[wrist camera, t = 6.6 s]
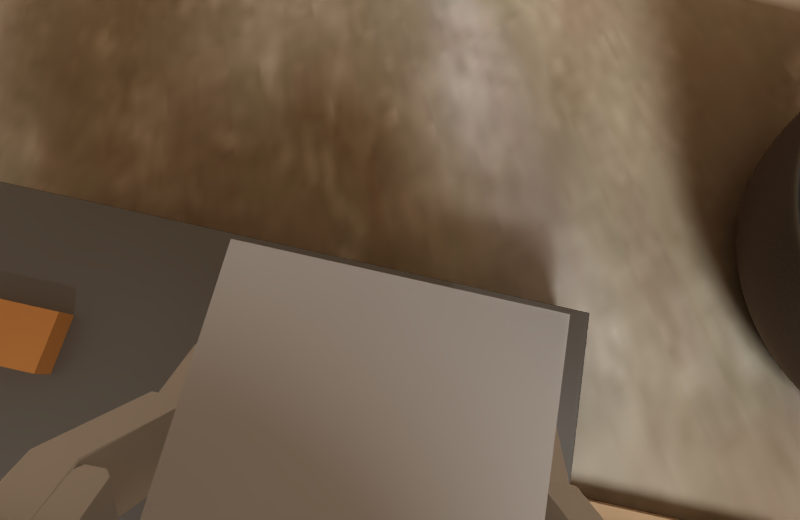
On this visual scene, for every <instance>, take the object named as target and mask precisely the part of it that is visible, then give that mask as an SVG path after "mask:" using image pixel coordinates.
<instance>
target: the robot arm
mask: <svg viewBox="0 0 800 520" xmlns="http://www.w3.org/2000/svg"><path fill="white" fill-rule="evenodd" d="M196 345H197V344H195V345H194V346H193V348H192V349H191V350H190V351H189V353H188V354H187V355H186V357H185V358H184V359H183V361H182V362H181V363H180V365H179V366H178V367H177V369H176V370H175V371H174V373H173V374H172V375H171V377H170V378H169V379H168V381H167V382H166V383H165V384H164V386H163V387H162V388H161V390H160V391H159V392H153V391H151V392H149V393H147V394H145V395H143V396H141V397H139V398H136V399H134V400H132V401H130V402H128V403H126V404H124V405H122V406H120V407H118V408H116V409H113V410H111V411H109V412H107V413H105V414H103V415H101V416H99V417H97V418H95V419H92V420H90V421H88V422H86V423H84V424H82V425H80V426H78V427H76V428H74V429H72V430H69V431H67V432H65V433H63V434H61V435H59V436H57V437H55V438H53V439H51V440H48V441H46V442H44V443H42V444H40V445H38V446H36V447H34V448H32V449H30V450H29V451H28V452H27V453H26V454H25V455H24V456H23V457H22V458H21V459H20V460H19V462H18V463H17V464H16V465H15V466H14V467H13V468H12V469H11V470H10V471H9V472H8V473H7V474H6V475H5V476H4V477H3V478H2V479H1V481H0V520H118V518H119V517H120V516H122V515H123V514H124V513H126V512H127V511H128V510H130V509H131V508H132V507H134V506H135V505H136V504H138V503H139V502H140V501H142V500H143V499H144V498H146V497H147V496H148V493H149V490H150V487H151V484H152V481H153V478H154V475H155V472H156V469H157V465H158V462H159V459H160V456H161V453H162V450H163V447H164V444H165V441H166V438H167V435H168V431H169V428H170V425H171V422H172V419H173V416H174V413H175V410H176V407H177V404H178V401H179V398H180V394H181V391H182V388H183V385H184V382H185V379H186V376H187V373H188V370H189V367H190V364H191V360H192V357H193V354H194V351H195V348H196ZM545 520H604V519H603V518H602V517H601V515H600V514H599V513H598V512H597V511H596V509H595V508H594V507H593V506H592V504H591V503H590V502H589V501H588V500H587V498H586V497H585V496H584V495H583V494H582V492H581V491H580V490H579V489H578V487H577V486H574V485H570V484H569V480H568V475H567V471H566V466H565V462H564V458H563V453H562V449H561V444H560V440H559V435H558V431H557V426H556V432H555V441H554V449H553V457H552V465H551V473H550V481H549V489H548V497H547V505H546V513H545Z"/></svg>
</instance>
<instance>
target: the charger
mask: <svg viewBox="0 0 800 520" xmlns="http://www.w3.org/2000/svg"><path fill="white" fill-rule="evenodd" d="M569 319H570V314H566V313H561V312H557V311H552V310H548V309H543V308H539V307H534V306H530V305H525V304H521V303H516V302H512V301H507V300H503V299H499V298H494V297H490V296H485V295H481V294H476V293H472V292H467V291H463V290H458V289H454V288H449V287H445V286H440V285H436V284H431V283H427V282H422V281H418V280H413V279H409V278H404V277H400V276H396V275H391V274H387V273H382V272H378V271H373V270H369V269H364V268H360V267H355V266H351V265H346V264H342V263H337V262H333V261H328V260H324V259H319V258H315V257H310V256H306V255H302V254H297V253H293V252H288V251H284V250H279V249H275V248H270V247H266V246H261V245H257V244H252V243H248V242H243V241H239V240H234V239H231V240H230V243H229V246H228V249H227V252H226V255H225V258H224V262H223V265H222V268H221V271H220V274H219V277H218V280H217V283H216V286H215V289H214V292H213V296H212V299H211V302H210V305H209V308H208V311H207V314H206V317H205V320H204V323H203V326H202V330H201V333H200V336H199V339H198V342H197V345H196V348H195V351H194V354H193V357H192V360H191V364H190V367H189V370H188V373H187V376H186V379H185V382H184V385H183V388H182V391H181V394H180V398H179V401H178V404H177V407H176V410H175V413H174V416H173V419H172V422H171V425H170V428H169V431H168V435H167V438H166V441H165V444H164V447H163V450H162V453H161V456H160V459H159V462H158V465H157V469H156V472H155V475H154V478H153V481H152V484H151V487H150V490H149V493H148V496H147V499H146V503H145V506H144V509H143V512H142V515H141V518H140V520H545V513H546V505H547V497H548V489H549V481H550V473H551V465H552V457H553V449H554V441H555V432H556V424H557V416H558V408H559V400H560V392H561V384H562V376H563V368H564V360H565V352H566V344H567V336H568V328H569Z"/></svg>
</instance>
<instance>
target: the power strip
mask: <svg viewBox="0 0 800 520" xmlns="http://www.w3.org/2000/svg"><path fill="white" fill-rule="evenodd" d="M231 239H234V240H239V241H243V242H248V243H252V244H257V245H261V246H266V247H270V248H275V249H279V250H284V251H288V252H293V253H297V254H302V255H306V256H310V257H315V258H319V259H324V260H328V261H333V262H337V263H342V264H346V265H351V266H355V267H360V268H364V269H369V270H373V271H378V272H382V273H387V274H391V275H396V276H400V277H404V278H409V279H413V280H418V281H422V282H427V283H431V284H436V285H440V286H445V287H449V288H454V289H458V290H463V291H467V292H472V293H476V294H481V295H485V296H490V297H494V298H499V299H503V300H507V301H512V302H516V303H521V304H525V305H530V306H534V307H539V308H543V309H548V310H552V311H557V312H561V313H566V314H570V319H569V328H568V336H567V344H566V352H565V360H564V368H563V376H562V384H561V392H560V400H559V408H558V416H557V424H556V426H557V431H558V435H559V440H560V444H561V449H562V453H563V458H564V462H565V466H566V471H567V475H568V480H569V484H570V480H571V471H572V462H573V453H574V444H575V436H576V427H577V418H578V409H579V400H580V392H581V383H582V374H583V365H584V356H585V348H586V339H587V330H588V321H589V313H587V312H582V311H578V310H573V309H569V308H564V307H560V306H555V305H551V304H546V303H542V302H537V301H533V300H528V299H524V298H520V297H515V296H511V295H506V294H502V293H497V292H493V291H488V290H484V289H479V288H475V287H470V286H466V285H461V284H457V283H452V282H448V281H443V280H439V279H434V278H430V277H425V276H421V275H416V274H412V273H408V272H403V271H399V270H394V269H390V268H385V267H381V266H376V265H372V264H367V263H363V262H358V261H354V260H349V259H345V258H340V257H336V256H331V255H327V254H322V253H318V252H313V251H309V250H304V249H300V248H296V247H291V246H287V245H282V244H278V243H273V242H269V241H264V240H260V239H255V238H251V237H246V236H242V235H237V234H233V233H228V232H224V231H219V230H215V229H210V228H206V227H201V226H197V225H192V224H188V223H184V222H179V221H175V220H170V219H166V218H161V217H157V216H152V215H148V214H143V213H139V212H134V211H130V210H125V209H121V208H116V207H112V206H107V205H103V204H98V203H94V202H89V201H85V200H80V199H76V198H72V197H67V196H63V195H58V194H54V193H49V192H45V191H40V190H36V189H31V188H27V187H22V186H18V185H13V184H9V183H4V182H0V481H1V479H2V478H3V477H4V476H5V475H6V474H7V473H8V472H9V471H10V470H11V469H12V468H13V467H14V466H15V465H16V464H17V463H18V462H19V460H20V459H21V458H22V457H23V456H24V455H25V454H26V453H27V452H28V451H29V450H30V449H32V448H34V447H36V446H38V445H40V444H42V443H44V442H46V441H48V440H51V439H53V438H55V437H57V436H59V435H61V434H63V433H65V432H67V431H69V430H72V429H74V428H76V427H78V426H80V425H82V424H84V423H86V422H88V421H90V420H92V419H95V418H97V417H99V416H101V415H103V414H105V413H107V412H109V411H111V410H113V409H116V408H118V407H120V406H122V405H124V404H126V403H128V402H130V401H132V400H134V399H136V398H139V397H141V396H143V395H145V394H147V393H149V392H151V391H153V392H159V391H160V390H161V388H162V387H163V386H164V384H165V383H166V382H167V381H168V379H169V378H170V377H171V375H172V374H173V373H174V371H175V370H176V369H177V367H178V366H179V365H180V363H181V362H182V361H183V359H184V358H185V357H186V355H187V354H188V353H189V351H190V350H191V349H192V348H193V346H194V345H195V344H197V342H198V339H199V336H200V333H201V330H202V326H203V323H204V320H205V317H206V314H207V311H208V308H209V305H210V302H211V299H212V296H213V292H214V289H215V286H216V283H217V280H218V277H219V274H220V271H221V268H222V265H223V262H224V258H225V255H226V252H227V249H228V246H229V243H230V240H231ZM146 499H147V497H146V498H144V499H143V500H142V501H140V502H139V503H138V504H136V505H135V506H134V507H132V508H131V509H130V510H128V511H127V512H126V513H124V514H123V515H122V516H120V517H119V518H118V520H140V518H141V515H142V512H143V509H144V506H145V503H146Z"/></svg>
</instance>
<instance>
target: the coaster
mask: <svg viewBox="0 0 800 520" xmlns="http://www.w3.org/2000/svg"><path fill="white" fill-rule="evenodd" d="M587 500H588V501H589V502H590V503H591V504H592V506H593V507H594V508H595V509H596V511H597V512H598V513H599V514H600V515H601V517H602V518H603V519H604V520H680V519H676V518H671V517H667V516H662V515H658V514H654V513H649V512H645V511H640V510H636V509H631V508H627V507H622V506H618V505H613V504H609V503H605V502H600V501H596V500H591V499H587Z"/></svg>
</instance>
